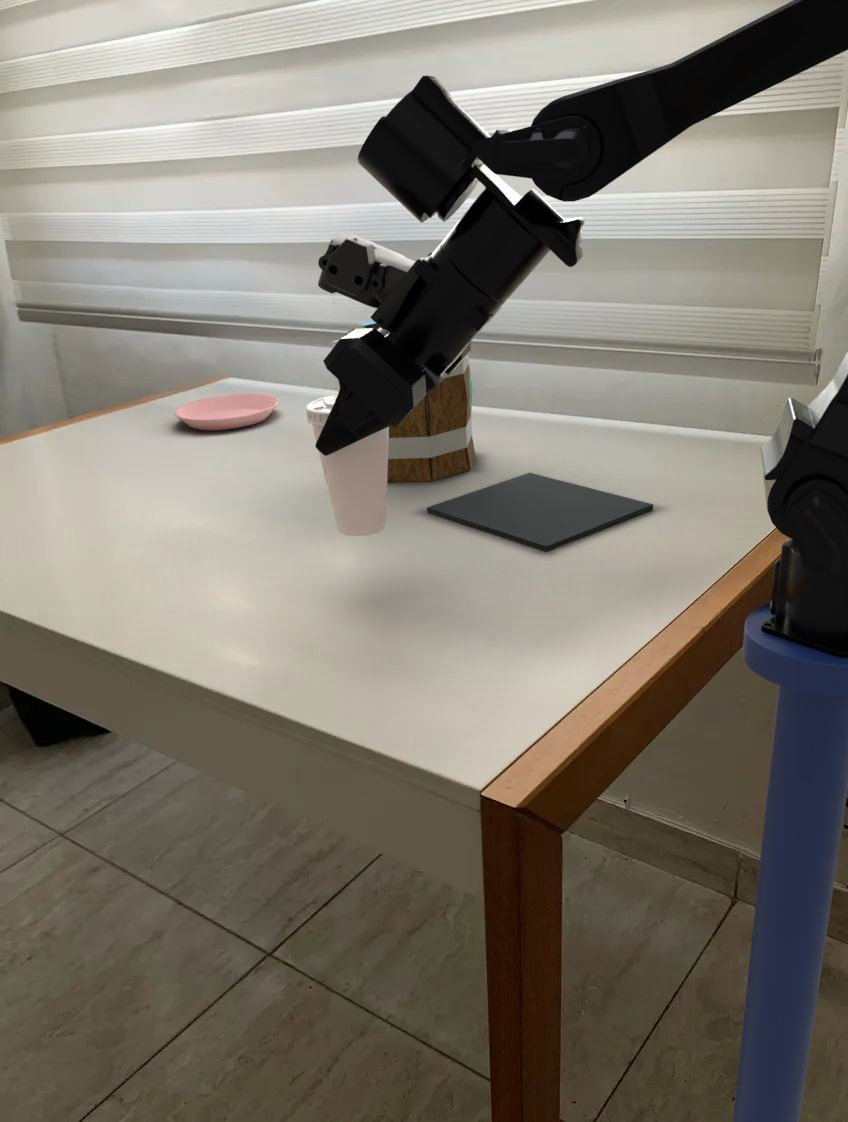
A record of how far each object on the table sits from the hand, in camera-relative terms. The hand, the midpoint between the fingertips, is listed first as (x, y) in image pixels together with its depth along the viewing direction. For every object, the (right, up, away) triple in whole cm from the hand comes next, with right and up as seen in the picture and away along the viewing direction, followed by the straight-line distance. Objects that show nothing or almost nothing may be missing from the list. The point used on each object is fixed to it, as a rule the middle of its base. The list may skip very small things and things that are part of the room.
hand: (335, 438), depth 76 cm
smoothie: (+2, -6, +3) cm, 7 cm away
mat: (+19, -3, +21) cm, 28 cm away
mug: (+7, +6, +41) cm, 42 cm away
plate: (-17, +15, +65) cm, 69 cm away
